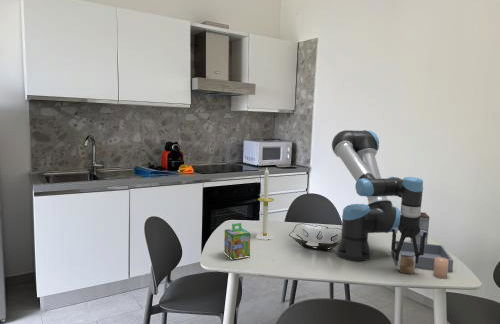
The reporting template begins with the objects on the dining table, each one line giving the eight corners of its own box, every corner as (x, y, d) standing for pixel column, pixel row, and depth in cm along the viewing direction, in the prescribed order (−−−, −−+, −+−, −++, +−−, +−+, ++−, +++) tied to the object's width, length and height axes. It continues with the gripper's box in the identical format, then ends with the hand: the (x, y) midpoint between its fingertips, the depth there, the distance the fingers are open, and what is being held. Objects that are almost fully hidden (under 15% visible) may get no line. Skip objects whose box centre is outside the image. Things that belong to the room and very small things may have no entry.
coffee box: (409, 241, 193) (411, 211, 192) (422, 242, 192) (425, 212, 190) (413, 247, 184) (416, 215, 183) (427, 248, 183) (430, 216, 181)
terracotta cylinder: (434, 277, 149) (436, 260, 148) (432, 272, 154) (433, 256, 153) (448, 279, 148) (449, 262, 147) (445, 274, 153) (446, 257, 152)
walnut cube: (400, 272, 153) (400, 260, 152) (398, 267, 157) (399, 256, 157) (413, 273, 151) (414, 262, 151) (411, 269, 156) (412, 257, 155)
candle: (257, 233, 201) (258, 165, 196) (275, 235, 199) (277, 166, 194) (253, 239, 191) (255, 167, 187) (272, 241, 189) (275, 168, 185)
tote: (397, 265, 160) (397, 254, 160) (392, 250, 179) (393, 240, 179) (452, 271, 155) (453, 260, 154) (441, 255, 174) (442, 245, 173)
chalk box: (231, 261, 161) (232, 227, 160) (223, 254, 169) (224, 222, 168) (250, 257, 166) (251, 225, 164) (241, 251, 174) (242, 220, 172)
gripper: (387, 215, 150) (383, 270, 153) (436, 219, 145) (430, 276, 149) (386, 210, 157) (382, 263, 160) (432, 214, 153) (427, 268, 156)
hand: (405, 269), depth 154 cm, fingers closed on walnut cube, 5 cm apart
